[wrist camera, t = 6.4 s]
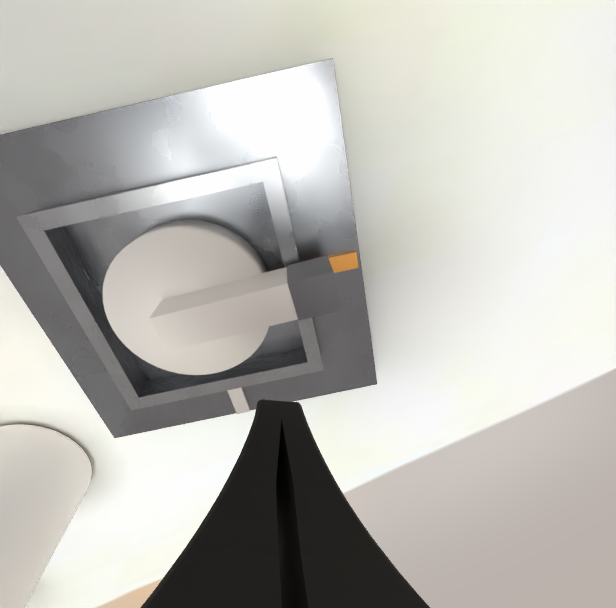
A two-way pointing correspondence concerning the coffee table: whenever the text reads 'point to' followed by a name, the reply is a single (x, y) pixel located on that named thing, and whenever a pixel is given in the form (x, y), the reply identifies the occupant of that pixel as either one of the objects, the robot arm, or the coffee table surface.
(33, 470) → the mug
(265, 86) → the panel
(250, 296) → the dial
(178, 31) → the coffee table surface
